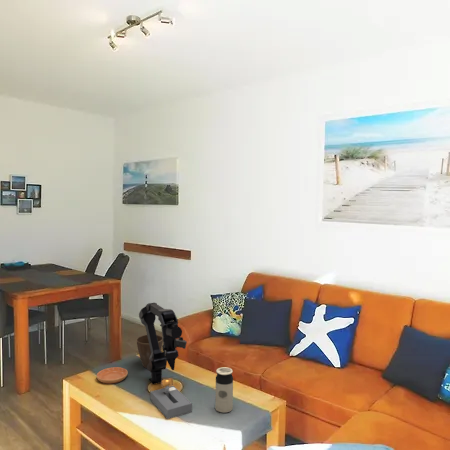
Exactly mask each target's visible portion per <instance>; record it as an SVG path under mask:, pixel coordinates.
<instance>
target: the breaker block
mask: <svg viewBox="0 0 450 450" xmlns="http://www.w3.org/2000/svg"><path fill="white" fill-rule="evenodd" d="M149 396H150V401H151V402H152V404H154V406H155V407H156V408H157V409H158V410H159V411H160V412H161V414H162V415H163V416H164V417H165V419H166V420H169V419H173V418H176V417H179V416H182V415H186V414H189V413H193V403H192V402H191V401H190V400H189V399H188V398H187V397H186V396H185V395H184V394H183V393H182V392H181V391H180V390H179V389H178V388H176V387H175V385H171V386H169V398H168V397H167V396H166V395H165V387H161V388H159V389H155V390H151V391H150V395H149Z"/></svg>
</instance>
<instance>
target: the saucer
mask: <svg viewBox="0 0 450 450" xmlns="http://www.w3.org/2000/svg"><path fill="white" fill-rule="evenodd" d="M128 372H129V371H128V370H127V369H126V368H124V367H120V366H119V367H117V366H116V367H114V366H113V367H108V368H107V367H106V368H104V369H102V370H100V371H98V372H97V373H96V378H97V380H98V381H99V382H101V383H103V384H107V385H108V384H110V385H111V384H117V383H120V382H122V381H124V379H126V377H127V376H128Z"/></svg>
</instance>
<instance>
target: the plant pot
mask: <svg viewBox="0 0 450 450" xmlns="http://www.w3.org/2000/svg"><path fill="white" fill-rule="evenodd" d="M156 335H157V339H158V344H159V348H160V350H161V351H162V349H163V347H162V346H163V336H161V335H159V334H156ZM136 347H137V351H138V355H139V358H140V361H141V365H142V367H143V368H145V369H147V365H148V363H149V362H150V360H149V358H150V355H151V350H150V345H149V341H148V336H147V334H144V335H141V336H138V337H137V338H136Z"/></svg>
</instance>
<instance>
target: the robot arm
mask: <svg viewBox="0 0 450 450" xmlns="http://www.w3.org/2000/svg"><path fill="white" fill-rule="evenodd" d="M138 317H139V319H140V322H141V324H142V325H143V326H144V327H145V331H146V335H147V336H148V341H149V345H150V350H151V355H150V358H149V360H150V362H149V363H148V365H147V368H146V369H147V371H149V373H150V378H148V381H149V382H150V384H152V385H156V383H157V384H161V381H162V380H164V379H163V370H166V369H167V366H168V365H169V367H170V369H171V371H174V370H175V365H176V359H177V358H179V351H178V350H177V349H178V348H182V349H184V350H186V347H187V344H188V343H187V340H185V339H184V337H182V335H183V330H182V328H181V327H180V326H179V322H178V321H179V319H178V318H177V315H176V314H175V312H174V310H173V309H171V308H164V307H162V306H161V305H159V304H157V302H149V303H146V304H145V306H144V307H142V308H141V310H140V311H139V312H138ZM156 317H158V318H157V319H158V321H159V323H160V324H159V325H160V328H161V334H162V337H163V342H162V349H161V350H160V348H159V344H158V339H157V335H158V334H157V332H156V327H155V321H156ZM167 364H168V365H167Z"/></svg>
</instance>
